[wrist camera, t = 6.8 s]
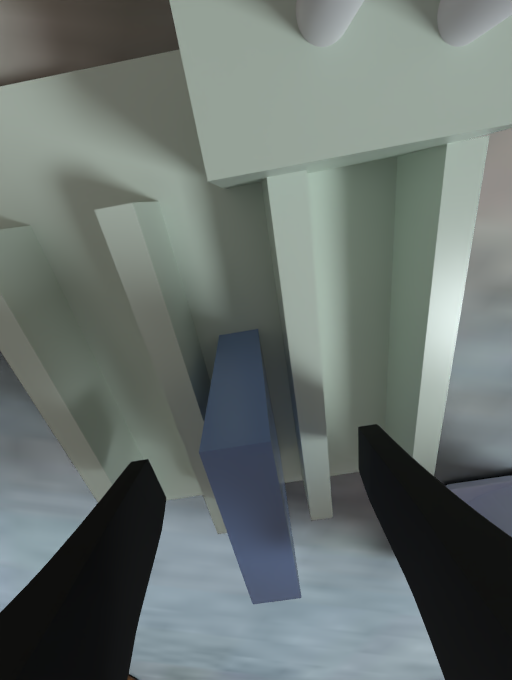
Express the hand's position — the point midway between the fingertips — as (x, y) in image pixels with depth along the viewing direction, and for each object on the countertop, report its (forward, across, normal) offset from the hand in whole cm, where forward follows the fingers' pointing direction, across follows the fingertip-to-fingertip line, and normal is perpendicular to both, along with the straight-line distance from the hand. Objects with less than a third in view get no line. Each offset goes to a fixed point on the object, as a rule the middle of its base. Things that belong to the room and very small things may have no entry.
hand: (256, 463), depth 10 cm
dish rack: (+4, 0, -3) cm, 5 cm away
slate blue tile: (+4, 0, 0) cm, 4 cm away
